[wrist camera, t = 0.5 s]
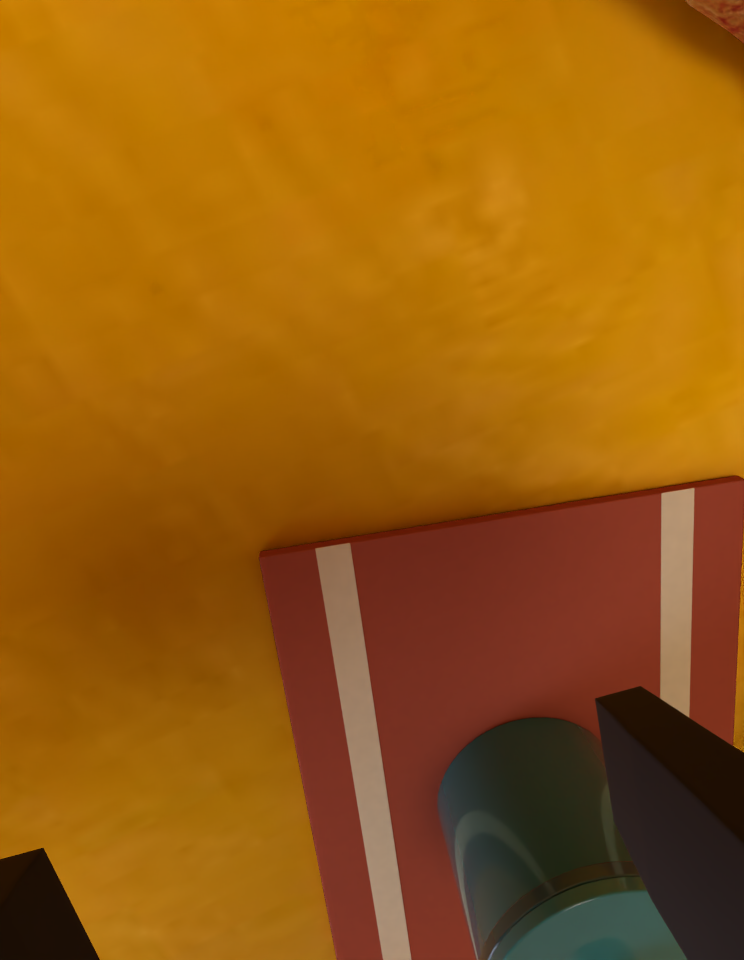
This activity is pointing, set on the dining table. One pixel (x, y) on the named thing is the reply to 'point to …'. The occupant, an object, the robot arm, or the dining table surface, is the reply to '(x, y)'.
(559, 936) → the pot
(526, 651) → the tea towel
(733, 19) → the croissant
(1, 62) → the dining table surface
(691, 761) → the robot arm
